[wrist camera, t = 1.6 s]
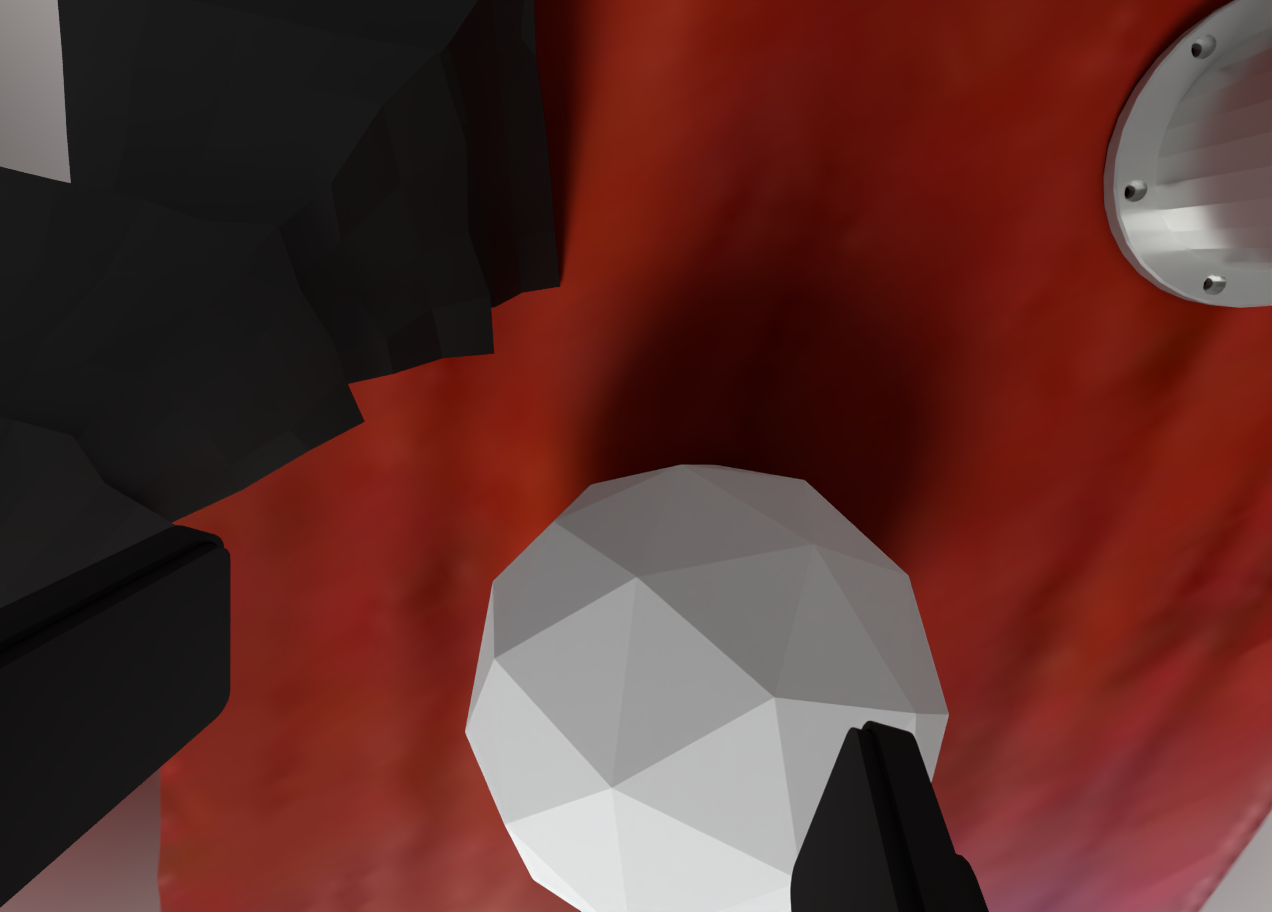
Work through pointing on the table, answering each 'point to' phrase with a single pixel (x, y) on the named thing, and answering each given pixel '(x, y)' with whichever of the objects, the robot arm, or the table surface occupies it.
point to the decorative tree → (250, 247)
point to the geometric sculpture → (689, 686)
